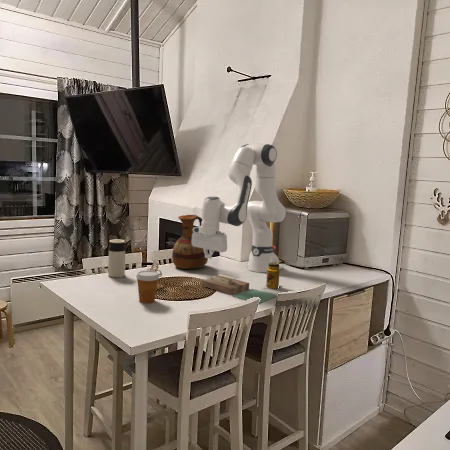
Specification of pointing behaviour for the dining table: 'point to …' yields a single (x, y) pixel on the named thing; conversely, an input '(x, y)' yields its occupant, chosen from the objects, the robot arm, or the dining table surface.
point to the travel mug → (116, 258)
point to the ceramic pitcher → (188, 246)
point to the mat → (255, 295)
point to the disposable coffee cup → (147, 285)
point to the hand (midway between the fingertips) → (208, 258)
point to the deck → (226, 286)
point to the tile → (223, 279)
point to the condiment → (273, 276)
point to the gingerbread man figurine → (156, 271)
